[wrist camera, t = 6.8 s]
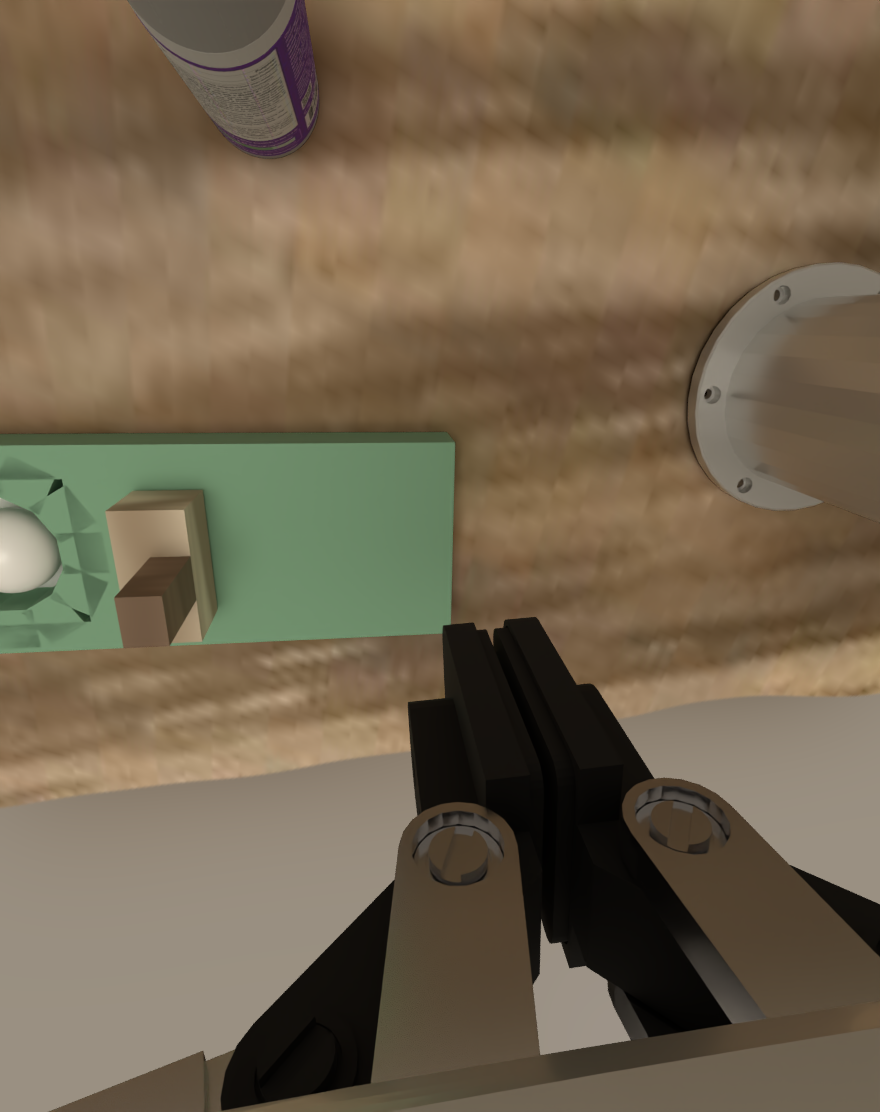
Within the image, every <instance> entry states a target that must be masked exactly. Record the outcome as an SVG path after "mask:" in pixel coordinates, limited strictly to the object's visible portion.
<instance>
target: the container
mask: <svg viewBox="0 0 880 1112" xmlns="http://www.w3.org/2000/svg"><path fill="white" fill-rule="evenodd" d="M127 1H128V2H129V4H130V5H131V7H132V8H133V10H134V12H135V13H136V15H137V16H138V18H139V19H140V21H141V22H142V24H143V25H144V26H145V28H146V29H147V31H148V32H149V33H150V35H151V36H152V38H153V39H154V40H155V42H156V43H157V44H158V46H159V47H160V49H161V50H162V51H163V53H164V54H165V56H166V57H167V58H168V60H169V61H170V63H171V64H172V65H173V67H174V68H175V69H176V71H177V72H178V74H179V75H180V76H181V78H182V79H183V81H184V82H185V83H186V85H187V86H188V88H189V89H190V90H191V92H192V93H193V94H194V96H195V97H196V99H197V100H198V101H199V103H200V104H201V106H202V107H203V108H204V110H205V111H206V113H207V114H208V115H209V117H210V118H211V119H212V121H213V122H214V124H215V125H216V126H217V128H218V129H219V130H220V132H221V133H222V134H223V135H224V136H225V137H226V139H227V140H228V141H229V142H231V143H232V144H233V145H234V146H235V147H237V148H238V149H240V150H241V151H243V152H245V153H247V154H249V155H252V156H255V157H259V158H265V159H273V158H280V157H284V156H287V155H289V154H291V153H293V152H294V151H296V150H297V149H299V148H300V147H301V146H302V145H303V144H304V143H305V142H306V140H307V139H308V138H309V136H310V135H311V133H312V131H313V129H314V126H315V124H316V120H317V116H318V111H319V89H318V82H317V76H316V70H315V63H314V57H313V51H312V45H311V39H310V32H309V26H308V20H307V14H306V8H305V2H304V0H127Z"/></svg>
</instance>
